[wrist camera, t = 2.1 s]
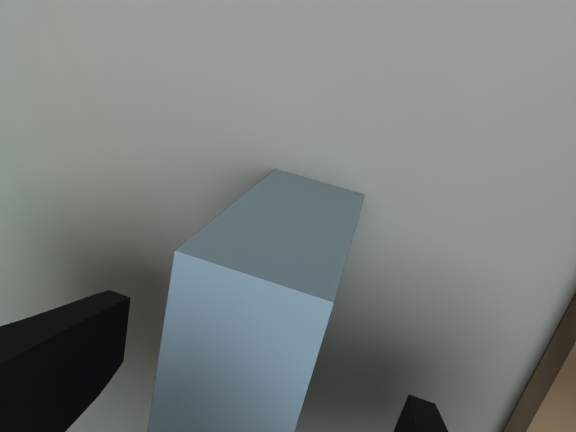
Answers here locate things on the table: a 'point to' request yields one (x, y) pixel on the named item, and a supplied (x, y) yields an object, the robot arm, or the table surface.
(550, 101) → the table surface
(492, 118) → the table surface
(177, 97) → the table surface
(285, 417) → the tile
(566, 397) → the rack
